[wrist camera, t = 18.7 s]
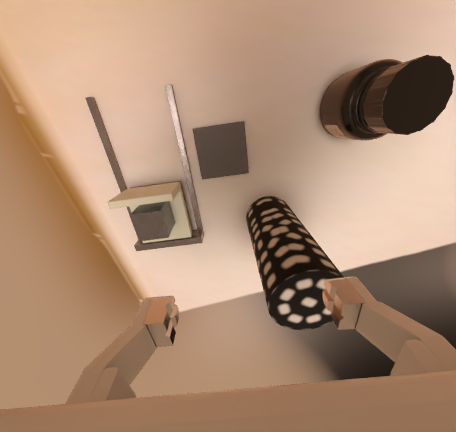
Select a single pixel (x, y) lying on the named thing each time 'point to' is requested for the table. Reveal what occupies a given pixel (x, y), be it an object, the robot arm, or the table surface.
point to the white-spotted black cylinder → (289, 265)
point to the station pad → (221, 150)
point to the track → (196, 234)
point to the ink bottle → (387, 98)
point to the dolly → (155, 195)
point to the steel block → (153, 221)
